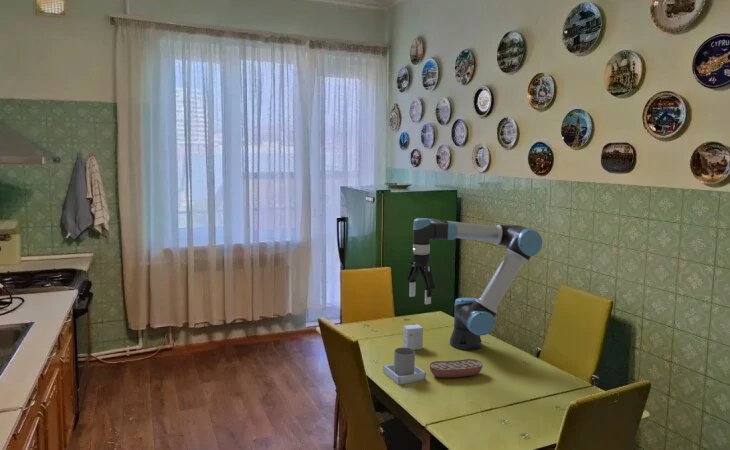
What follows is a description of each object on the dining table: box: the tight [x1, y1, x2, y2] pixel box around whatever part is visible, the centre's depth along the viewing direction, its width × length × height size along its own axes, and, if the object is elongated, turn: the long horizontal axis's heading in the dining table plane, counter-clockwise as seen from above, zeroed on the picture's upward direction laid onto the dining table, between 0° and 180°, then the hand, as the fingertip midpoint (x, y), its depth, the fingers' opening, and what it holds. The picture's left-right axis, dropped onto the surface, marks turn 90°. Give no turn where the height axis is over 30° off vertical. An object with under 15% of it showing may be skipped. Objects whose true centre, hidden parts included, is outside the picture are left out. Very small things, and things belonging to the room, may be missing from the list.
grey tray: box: [382, 363, 427, 386], centre depth 227 cm, size 13×14×3 cm
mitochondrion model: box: [429, 358, 484, 379], centre depth 229 cm, size 23×10×5 cm, turn 103°
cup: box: [393, 347, 416, 377], centre depth 226 cm, size 8×8×10 cm
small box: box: [402, 324, 424, 351], centre depth 260 cm, size 8×6×10 cm
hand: (419, 300), depth 245 cm, fingers open, 13 cm apart
